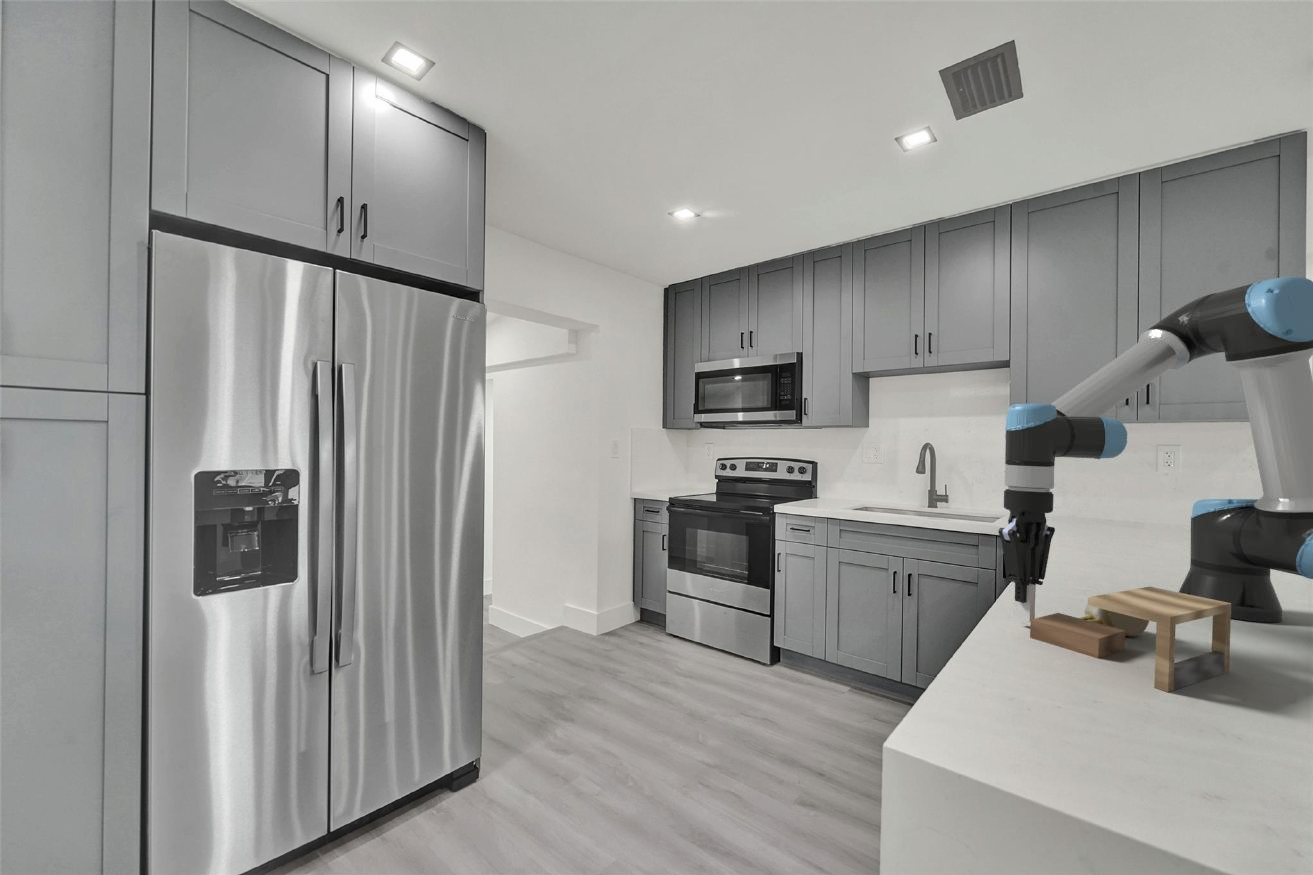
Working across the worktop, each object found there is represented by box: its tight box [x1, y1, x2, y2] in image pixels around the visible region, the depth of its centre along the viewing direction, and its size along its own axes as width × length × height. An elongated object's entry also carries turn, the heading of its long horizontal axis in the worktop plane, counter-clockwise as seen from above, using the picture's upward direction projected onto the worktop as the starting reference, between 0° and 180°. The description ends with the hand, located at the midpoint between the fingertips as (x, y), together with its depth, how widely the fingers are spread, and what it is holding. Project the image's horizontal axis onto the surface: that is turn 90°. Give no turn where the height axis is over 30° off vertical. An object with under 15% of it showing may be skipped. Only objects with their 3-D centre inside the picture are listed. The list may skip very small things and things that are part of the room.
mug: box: [1079, 603, 1150, 637], centre depth 103 cm, size 8×10×10 cm
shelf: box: [1087, 586, 1232, 693], centre depth 86 cm, size 18×10×10 cm, turn 116°
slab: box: [1029, 612, 1126, 659], centre depth 96 cm, size 9×10×4 cm
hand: (1024, 619), depth 103 cm, fingers closed
